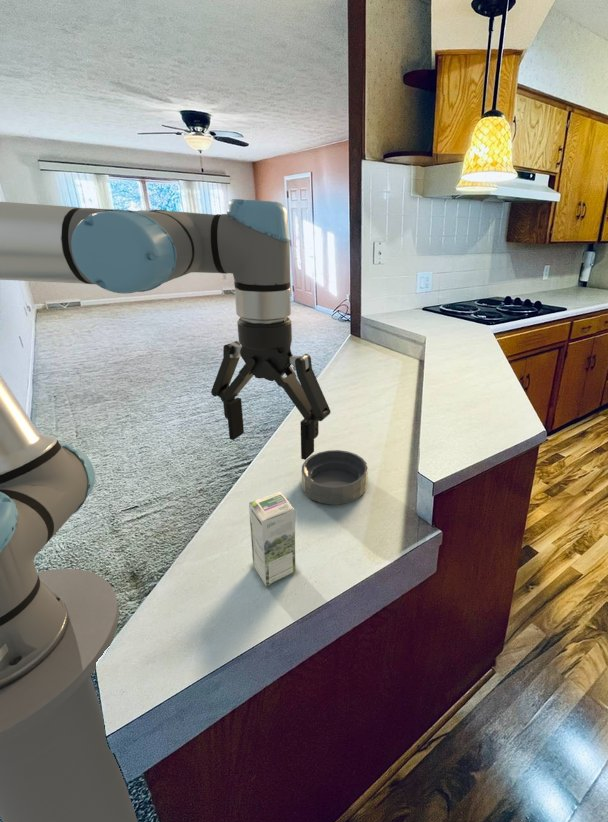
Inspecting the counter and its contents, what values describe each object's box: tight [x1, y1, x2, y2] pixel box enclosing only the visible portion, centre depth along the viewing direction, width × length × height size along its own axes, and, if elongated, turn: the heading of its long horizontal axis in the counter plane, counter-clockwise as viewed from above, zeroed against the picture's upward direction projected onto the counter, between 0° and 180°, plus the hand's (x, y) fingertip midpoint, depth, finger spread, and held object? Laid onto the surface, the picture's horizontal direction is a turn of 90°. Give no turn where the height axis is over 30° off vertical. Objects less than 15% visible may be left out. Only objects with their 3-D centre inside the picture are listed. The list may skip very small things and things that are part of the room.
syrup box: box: [248, 491, 296, 587], centre depth 71 cm, size 6×6×14 cm
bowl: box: [301, 449, 369, 505], centre depth 96 cm, size 15×15×5 cm
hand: (271, 445), depth 67 cm, fingers open, 13 cm apart
